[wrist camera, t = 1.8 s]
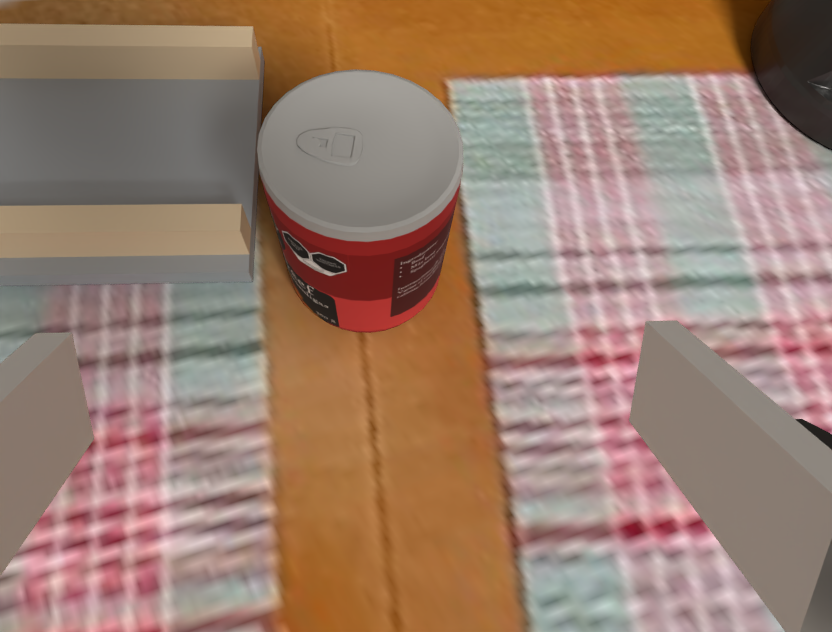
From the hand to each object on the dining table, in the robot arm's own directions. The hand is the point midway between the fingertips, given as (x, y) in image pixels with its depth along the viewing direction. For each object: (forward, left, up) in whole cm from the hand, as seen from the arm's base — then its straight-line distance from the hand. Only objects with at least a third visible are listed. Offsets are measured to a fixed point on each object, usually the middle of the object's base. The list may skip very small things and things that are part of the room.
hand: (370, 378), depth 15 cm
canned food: (0, -11, -17) cm, 20 cm away
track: (+15, -18, -17) cm, 29 cm away
